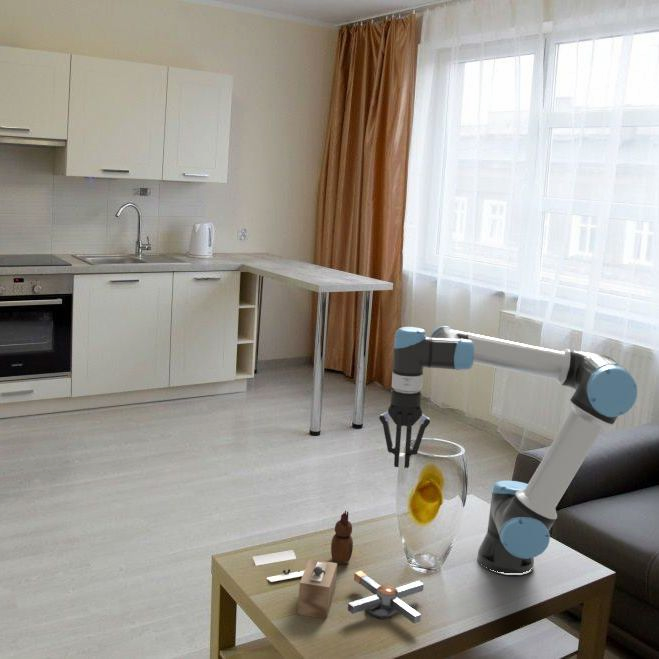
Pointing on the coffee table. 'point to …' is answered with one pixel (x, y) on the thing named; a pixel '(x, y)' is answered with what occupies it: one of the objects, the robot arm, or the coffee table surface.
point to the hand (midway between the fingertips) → (400, 478)
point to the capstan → (385, 599)
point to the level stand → (317, 588)
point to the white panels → (276, 558)
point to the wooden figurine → (342, 541)
